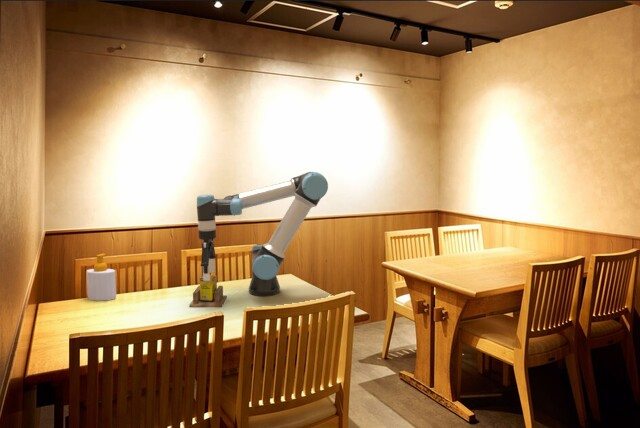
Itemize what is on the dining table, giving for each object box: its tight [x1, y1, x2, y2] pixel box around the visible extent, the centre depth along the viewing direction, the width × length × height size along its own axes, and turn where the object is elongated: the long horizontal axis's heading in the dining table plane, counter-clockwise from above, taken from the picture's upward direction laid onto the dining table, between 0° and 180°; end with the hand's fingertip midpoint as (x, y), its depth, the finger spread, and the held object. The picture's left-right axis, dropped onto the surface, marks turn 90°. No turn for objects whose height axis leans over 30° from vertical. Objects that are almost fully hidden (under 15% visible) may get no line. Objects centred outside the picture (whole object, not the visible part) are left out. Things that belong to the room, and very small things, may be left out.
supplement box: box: [199, 274, 218, 302], centre depth 211 cm, size 6×6×11 cm
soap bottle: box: [86, 253, 117, 302], centre depth 215 cm, size 13×8×20 cm, turn 81°
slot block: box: [189, 285, 228, 308], centre depth 211 cm, size 14×14×6 cm
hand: (209, 276), depth 210 cm, fingers open, 13 cm apart
